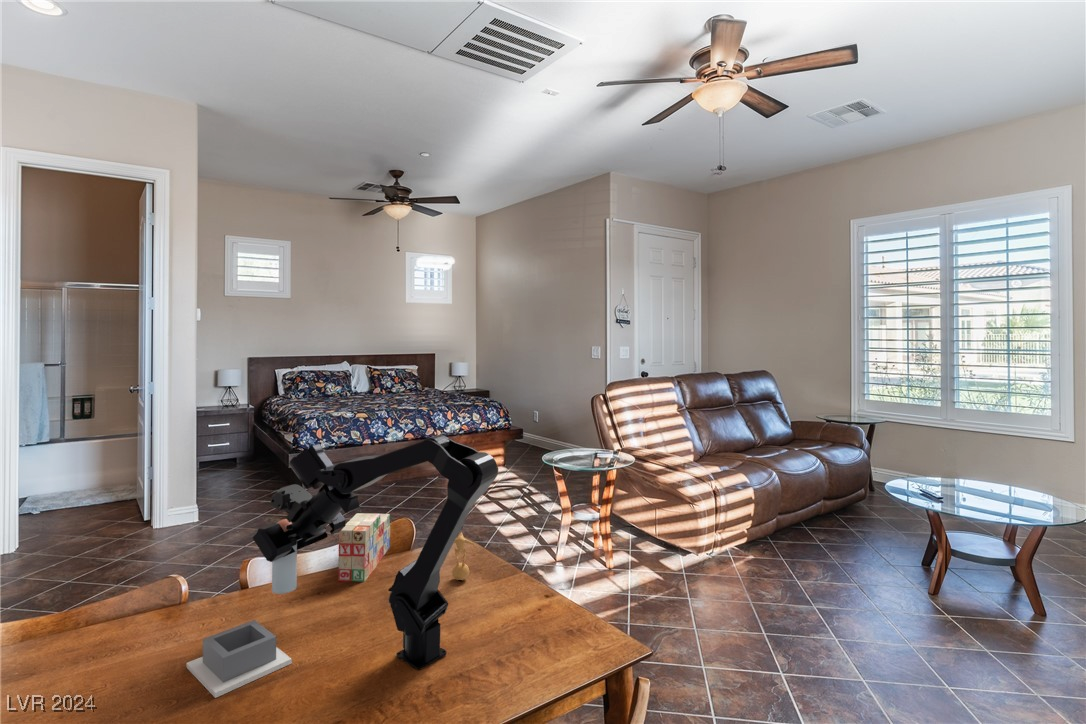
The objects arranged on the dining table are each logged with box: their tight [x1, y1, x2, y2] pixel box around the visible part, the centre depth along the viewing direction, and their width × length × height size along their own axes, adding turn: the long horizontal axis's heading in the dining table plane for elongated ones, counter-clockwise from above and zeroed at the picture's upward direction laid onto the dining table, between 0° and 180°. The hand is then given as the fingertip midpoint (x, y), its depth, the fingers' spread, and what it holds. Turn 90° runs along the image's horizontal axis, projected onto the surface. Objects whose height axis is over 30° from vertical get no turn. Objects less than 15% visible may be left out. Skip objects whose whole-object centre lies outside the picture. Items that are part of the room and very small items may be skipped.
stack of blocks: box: [337, 512, 391, 583], centre depth 136 cm, size 21×6×12 cm, turn 0°
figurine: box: [451, 531, 479, 581], centre depth 126 cm, size 8×6×12 cm
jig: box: [186, 619, 293, 699], centre depth 92 cm, size 12×12×5 cm
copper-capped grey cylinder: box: [271, 518, 298, 595], centre depth 107 cm, size 4×4×14 cm
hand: (279, 554), depth 107 cm, fingers closed on copper-capped grey cylinder, 4 cm apart
